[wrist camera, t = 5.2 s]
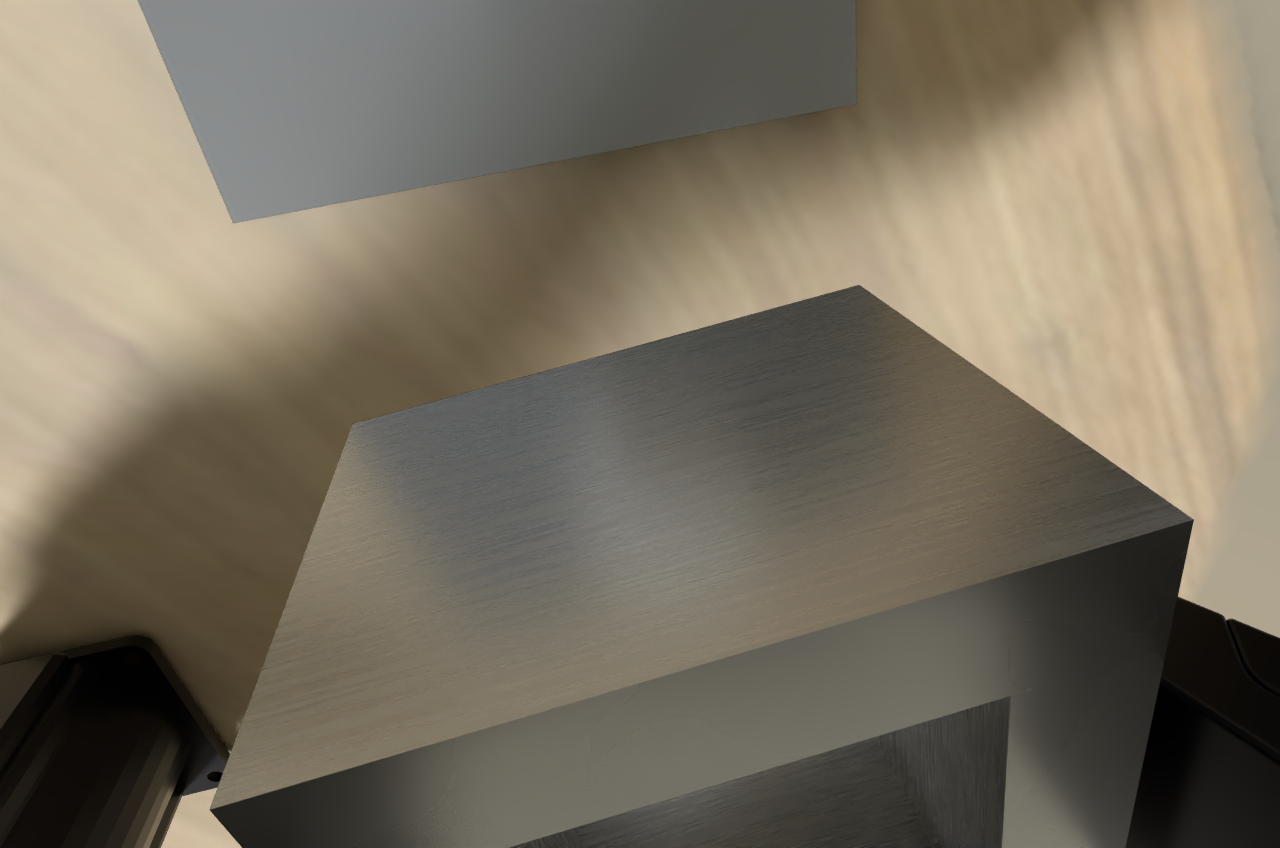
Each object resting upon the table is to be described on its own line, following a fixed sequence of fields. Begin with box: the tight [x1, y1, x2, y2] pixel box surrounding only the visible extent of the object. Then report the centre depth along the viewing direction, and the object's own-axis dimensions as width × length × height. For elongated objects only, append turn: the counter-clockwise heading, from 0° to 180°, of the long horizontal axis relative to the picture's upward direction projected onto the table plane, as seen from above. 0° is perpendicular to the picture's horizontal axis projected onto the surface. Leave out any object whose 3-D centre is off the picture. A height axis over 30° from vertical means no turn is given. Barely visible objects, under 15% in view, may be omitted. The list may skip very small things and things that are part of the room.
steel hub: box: [210, 285, 1194, 848], centre depth 8 cm, size 6×6×5 cm
